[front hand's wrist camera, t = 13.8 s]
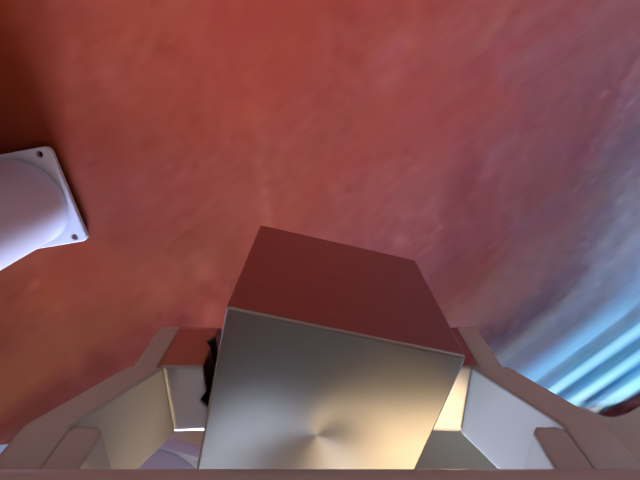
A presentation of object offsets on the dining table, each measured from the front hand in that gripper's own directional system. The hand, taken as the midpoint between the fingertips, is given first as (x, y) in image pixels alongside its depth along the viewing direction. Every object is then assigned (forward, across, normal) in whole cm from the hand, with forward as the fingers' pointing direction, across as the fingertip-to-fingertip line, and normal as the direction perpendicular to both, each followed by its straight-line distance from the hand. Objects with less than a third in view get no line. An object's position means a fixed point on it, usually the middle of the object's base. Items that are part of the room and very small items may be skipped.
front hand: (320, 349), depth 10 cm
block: (+2, 0, 0) cm, 2 cm away
